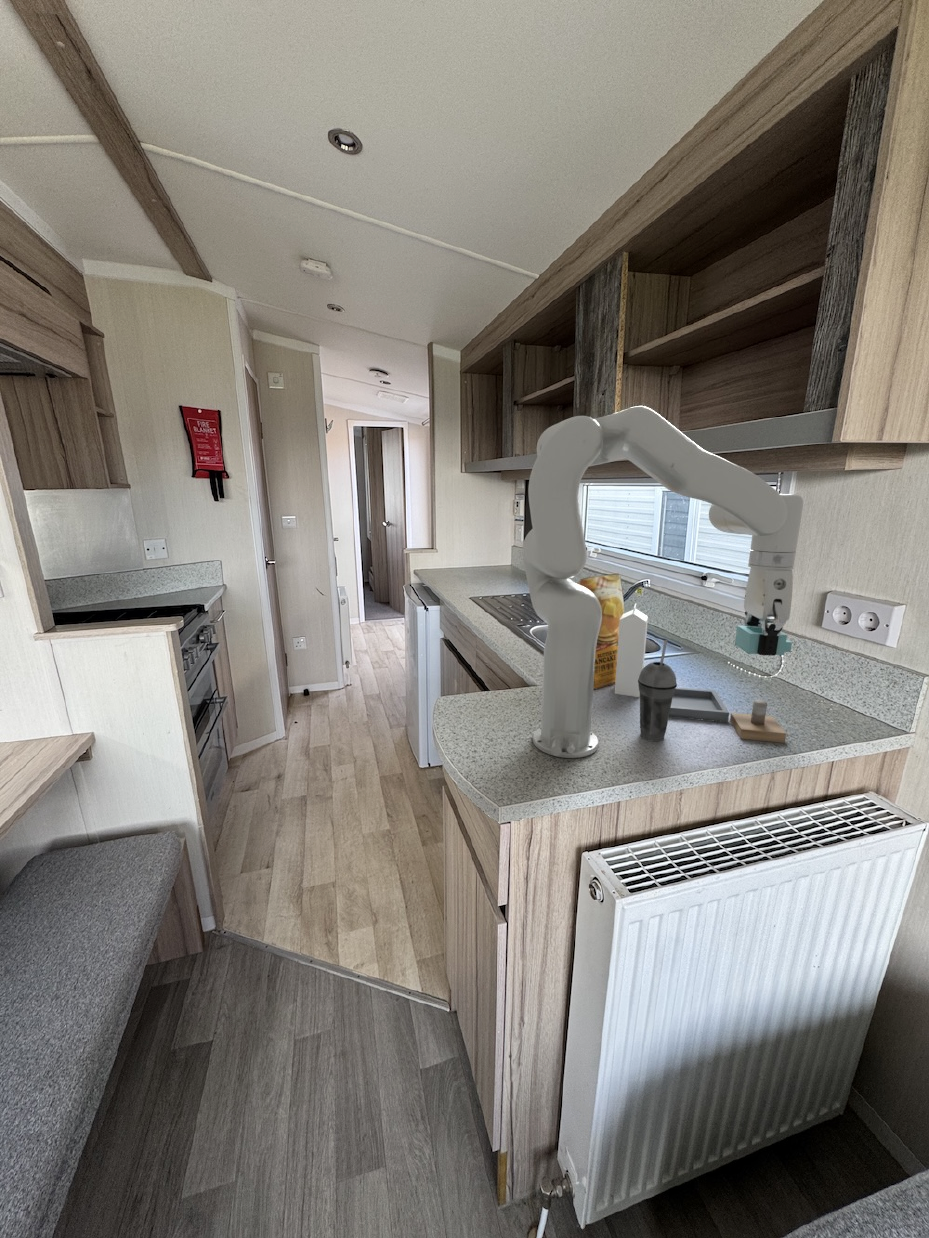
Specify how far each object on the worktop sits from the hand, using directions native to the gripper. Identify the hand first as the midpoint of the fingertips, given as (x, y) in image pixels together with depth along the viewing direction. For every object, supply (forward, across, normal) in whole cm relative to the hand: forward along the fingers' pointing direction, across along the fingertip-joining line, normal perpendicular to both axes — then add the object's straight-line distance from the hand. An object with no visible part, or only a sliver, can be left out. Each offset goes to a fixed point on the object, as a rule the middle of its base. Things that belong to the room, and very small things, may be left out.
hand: (758, 648), depth 101 cm
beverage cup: (+18, -6, +20) cm, 28 cm away
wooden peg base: (+17, -1, -1) cm, 18 cm away
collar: (0, 0, -1) cm, 1 cm away
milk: (+18, +18, +21) cm, 33 cm away
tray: (+17, +10, +9) cm, 22 cm away
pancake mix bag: (+18, +24, +27) cm, 40 cm away
